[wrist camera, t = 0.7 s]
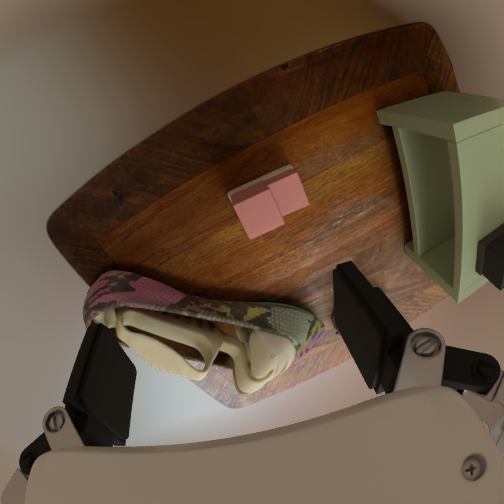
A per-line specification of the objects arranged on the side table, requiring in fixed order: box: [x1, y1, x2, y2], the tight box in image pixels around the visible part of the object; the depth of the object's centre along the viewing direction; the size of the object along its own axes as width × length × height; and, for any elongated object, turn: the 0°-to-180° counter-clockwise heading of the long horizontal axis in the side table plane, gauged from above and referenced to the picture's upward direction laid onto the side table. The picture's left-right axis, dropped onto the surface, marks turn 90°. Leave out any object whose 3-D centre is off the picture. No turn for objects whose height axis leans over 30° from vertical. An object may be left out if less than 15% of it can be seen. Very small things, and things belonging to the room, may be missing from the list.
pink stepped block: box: [227, 164, 309, 240], centre depth 27 cm, size 7×4×4 cm, turn 114°
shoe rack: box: [376, 91, 504, 303], centre depth 25 cm, size 20×12×12 cm, turn 24°
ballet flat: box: [83, 270, 325, 395], centre depth 31 cm, size 10×30×11 cm, turn 67°
